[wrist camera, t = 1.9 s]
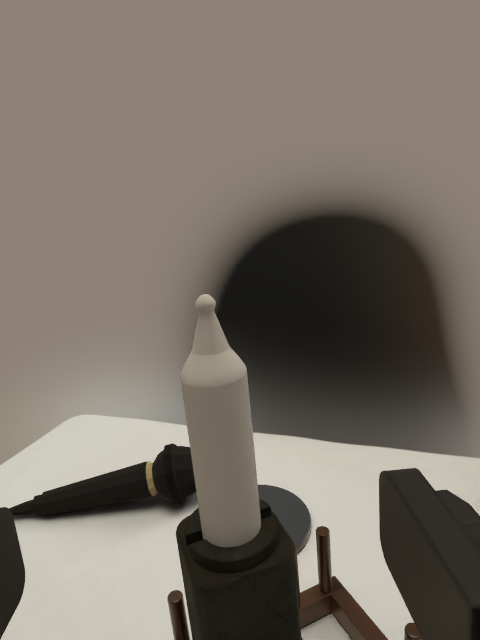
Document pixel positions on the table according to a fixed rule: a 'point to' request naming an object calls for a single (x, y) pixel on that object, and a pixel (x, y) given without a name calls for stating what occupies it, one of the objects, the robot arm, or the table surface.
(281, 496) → the slate coaster
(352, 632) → the drying rack
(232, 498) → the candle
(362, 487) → the table surface
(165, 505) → the table surface
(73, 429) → the table surface
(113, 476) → the microphone
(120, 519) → the table surface
